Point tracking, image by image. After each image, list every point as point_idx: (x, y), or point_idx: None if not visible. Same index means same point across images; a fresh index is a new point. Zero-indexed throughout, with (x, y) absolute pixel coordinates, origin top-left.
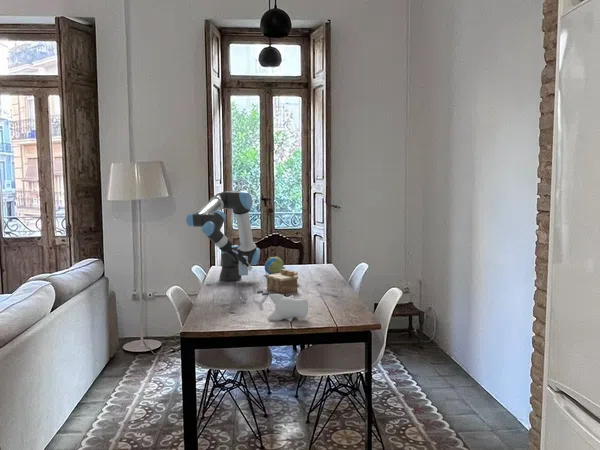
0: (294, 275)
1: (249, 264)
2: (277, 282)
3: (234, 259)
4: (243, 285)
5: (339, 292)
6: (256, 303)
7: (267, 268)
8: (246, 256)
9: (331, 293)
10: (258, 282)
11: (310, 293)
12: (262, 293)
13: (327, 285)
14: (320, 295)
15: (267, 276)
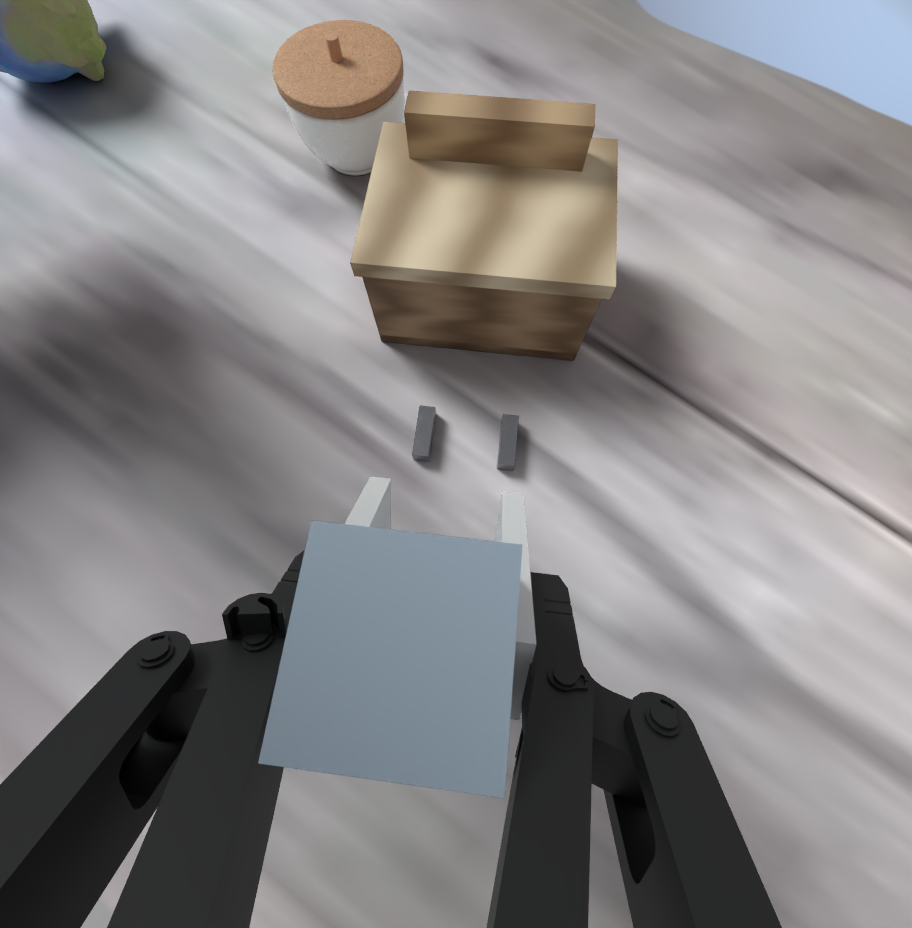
0: (402, 80)
1: (527, 547)
2: (541, 305)
3: (162, 791)
4: (127, 379)
5: (756, 108)
6: (742, 700)
7: (2, 45)
8: (491, 575)
9: (753, 148)
10: (147, 250)
11: (679, 223)
12: (504, 466)
13: (553, 50)
14: (766, 217)
15: (375, 273)
